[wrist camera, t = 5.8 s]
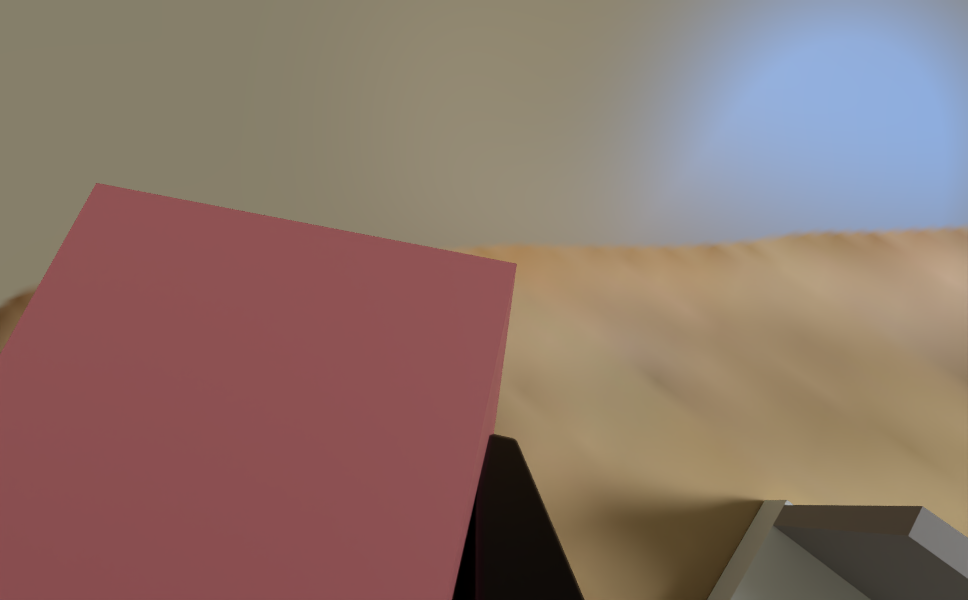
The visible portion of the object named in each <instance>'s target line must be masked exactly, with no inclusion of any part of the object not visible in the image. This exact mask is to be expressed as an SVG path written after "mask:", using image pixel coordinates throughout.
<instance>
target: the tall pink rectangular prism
mask: <svg viewBox="0 0 968 600" xmlns="http://www.w3.org/2000/svg"><path fill="white" fill-rule="evenodd" d="M516 265H517V264H515V263H510V262H505V261H499V260H494V259H489V258H484V257H479V256H473V255H468V254H463V253H458V252H453V251H447V250H442V249H437V248H432V247H427V246H421V245H416V244H411V243H406V242H401V241H395V240H390V239H385V238H380V237H375V236H369V235H364V234H359V233H354V232H349V231H343V230H338V229H333V228H328V227H323V226H317V225H312V224H307V223H302V222H296V221H291V220H286V219H281V218H276V217H271V216H265V215H260V214H255V213H250V212H245V211H239V210H234V209H229V208H224V207H219V206H213V205H208V204H203V203H197V202H192V201H187V200H182V199H177V198H172V197H167V196H161V195H156V194H151V193H146V192H140V191H135V190H130V189H125V188H120V187H115V186H109V185H104V184H99V183H96V185H95V187H94V188H93V190H92V192H91V194H90V195H89V197H88V199H87V201H86V203H85V205H84V206H83V208H82V210H81V211H80V213H79V215H78V217H77V219H76V220H75V222H74V224H73V226H72V228H71V229H70V231H69V233H68V235H67V237H66V238H65V240H64V242H63V243H62V245H61V247H60V249H59V251H58V253H57V254H56V256H55V258H54V259H53V261H52V263H51V265H50V267H49V269H48V270H47V272H46V274H45V275H44V277H43V279H42V281H41V283H40V284H39V286H38V288H37V290H36V291H35V293H34V295H33V297H32V299H31V300H30V302H29V304H28V306H27V308H26V309H25V311H24V313H23V315H22V316H21V318H20V320H19V322H18V324H17V325H16V327H15V329H14V331H13V332H12V334H11V336H10V338H9V340H8V341H7V343H6V345H5V347H4V348H3V350H2V352H1V354H0V600H456V597H457V592H458V586H459V581H460V576H461V570H462V565H463V560H464V554H465V549H466V544H467V538H468V533H469V528H470V522H471V517H472V512H473V507H474V501H475V496H476V491H477V487H478V482H479V478H480V474H481V469H482V465H483V461H484V457H485V452H486V448H487V444H488V439H489V435H491V434H494V428H495V420H496V413H497V406H498V398H499V391H500V384H501V376H502V369H503V361H504V354H505V347H506V339H507V332H508V324H509V317H510V310H511V302H512V295H513V288H514V280H515V273H516Z"/></svg>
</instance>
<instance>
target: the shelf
mask: <svg viewBox="0 0 968 600" xmlns="http://www.w3.org/2000/svg"><path fill="white" fill-rule="evenodd" d="M707 600H968V538H967V537H966V536H964V535H963V534H961V533H960V532H959V531H957V530H956V529H954V528H953V527H951V526H950V525H949V524H947V523H946V522H944V521H943V520H941V519H940V518H939V517H937V516H936V515H934V514H933V513H931V512H930V511H929V510H927V509H926V508H924V507H923V506H839V505H793V504H792V503H790V502H789V501H788V500H765V501H764V503H763V504H762V506H761V508H760V509H759V511H758V513H757V515H756V516H755V518H754V520H753V521H752V523H751V525H750V527H749V528H748V530H747V532H746V534H745V535H744V537H743V539H742V540H741V542H740V544H739V546H738V547H737V549H736V551H735V553H734V554H733V556H732V558H731V559H730V561H729V563H728V565H727V566H726V568H725V570H724V571H723V573H722V575H721V577H720V578H719V580H718V582H717V584H716V585H715V587H714V589H713V590H712V592H711V594H710V596H709V597H708V599H707Z"/></svg>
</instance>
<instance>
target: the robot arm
mask: <svg viewBox="0 0 968 600" xmlns="http://www.w3.org/2000/svg"><path fill="white" fill-rule="evenodd" d="M456 600H584V597H583V595H582V593H581V590H580V588H579V586H578V583H577V581H576V579H575V576H574V574H573V572H572V569H571V567H570V564H569V562H568V560H567V557H566V555H565V553H564V550H563V548H562V546H561V543H560V541H559V539H558V536H557V534H556V532H555V529H554V527H553V525H552V522H551V520H550V517H549V515H548V513H547V510H546V508H545V506H544V503H543V501H542V499H541V496H540V494H539V492H538V489H537V487H536V485H535V482H534V480H533V478H532V475H531V473H530V470H529V468H528V466H527V463H526V461H525V459H524V456H523V454H522V452H521V449H520V447H519V445H518V443H517V441H516V440H515V439H513V438H510V437H505V436H501V435H496V434H491V435H489V439H488V444H487V448H486V452H485V457H484V461H483V465H482V469H481V474H480V478H479V482H478V487H477V491H476V496H475V501H474V507H473V512H472V517H471V522H470V528H469V533H468V538H467V544H466V549H465V554H464V560H463V565H462V570H461V576H460V581H459V586H458V592H457V597H456Z"/></svg>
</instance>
